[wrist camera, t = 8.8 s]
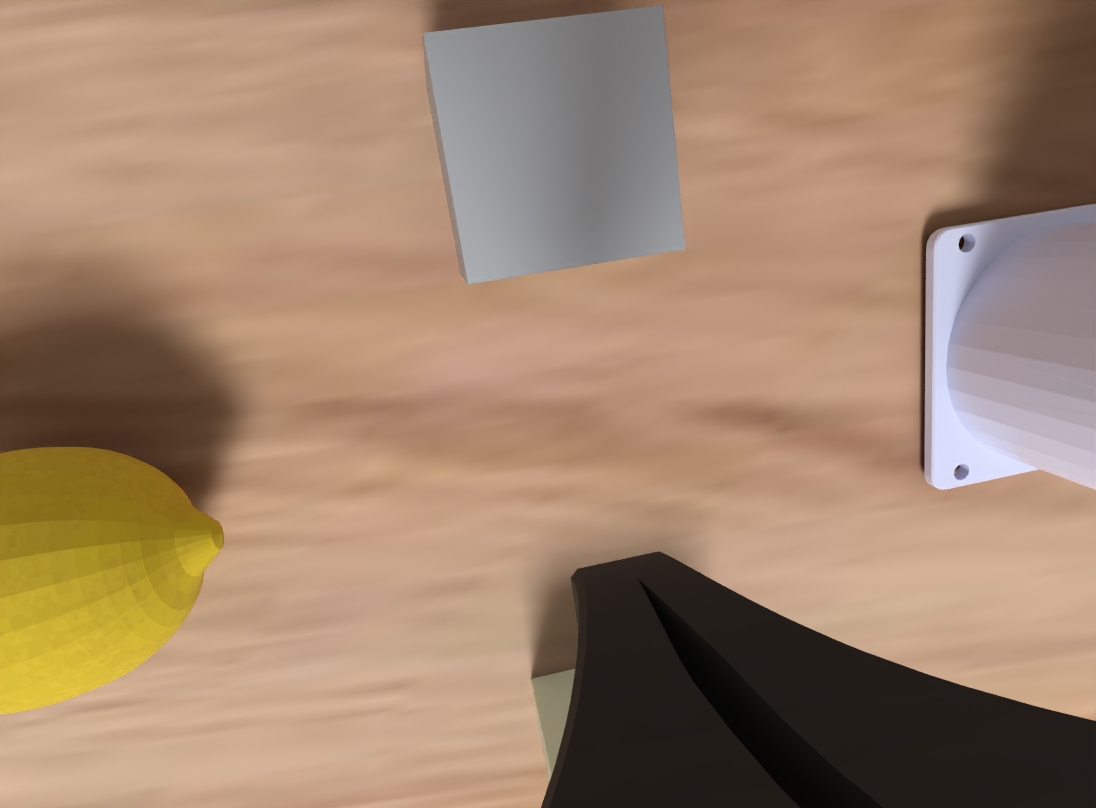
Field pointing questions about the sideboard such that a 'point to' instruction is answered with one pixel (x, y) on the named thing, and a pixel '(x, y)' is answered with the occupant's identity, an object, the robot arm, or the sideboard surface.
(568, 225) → the slate block
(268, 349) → the sideboard surface
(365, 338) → the sideboard surface
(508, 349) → the sideboard surface
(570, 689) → the sage block
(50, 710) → the sideboard surface
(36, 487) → the lemon
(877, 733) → the robot arm
